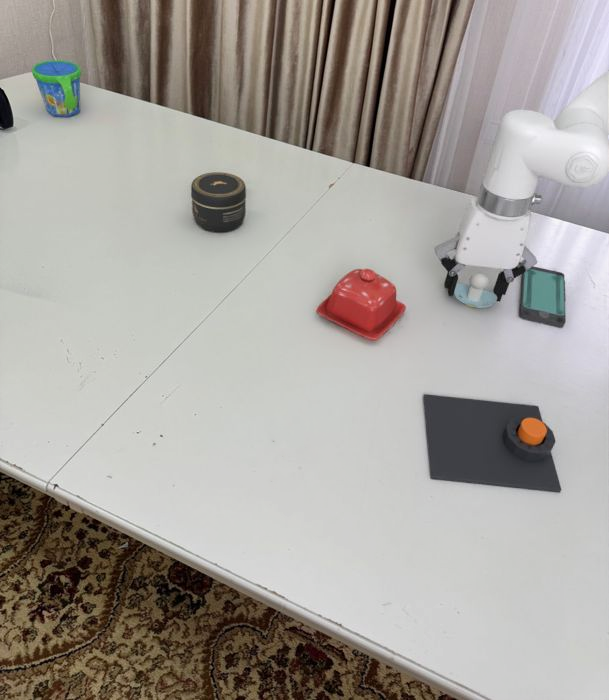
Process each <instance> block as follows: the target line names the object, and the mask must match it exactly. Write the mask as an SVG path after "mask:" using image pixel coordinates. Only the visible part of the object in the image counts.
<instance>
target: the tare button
mask: <svg viewBox="0 0 609 700" xmlns="http://www.w3.org/2000/svg"><path fill="white" fill-rule="evenodd" d="M544 423H545V422H544ZM544 423H542V422H541V421H540V420H538V419H535V418H526V419H524V420H523V421H522V423H521V425H520V427H519V429H518V436H519V438H520V439H521V440H522V441H523V442H525V443H527V444H529V445H538V444H540V443H541V442H542V441H543V439H544V437H545V435H546V433H547V428H546V426H545V425H544Z"/></svg>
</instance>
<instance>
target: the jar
mask: <svg viewBox="0 0 609 700" xmlns="http://www.w3.org/2000/svg"><path fill="white" fill-rule="evenodd" d="M190 197H191V205H192V206H191V207H192V209H191V210H192V216H193V218H194V221H195V223H196V225H197V226H199V227H200V228H201V229H202V230H205V231H207V232H210V233H217V234H219V233H223V234H224V233H230V232H232V231H235V230H237V229H238V228H240V227H241V225H242V224H243V223H244V220H245V217H246V199H247V187H246V183H245V181H244V180H243V179H242V178H241V177H239V176H237V175H235V174H232V173H230V172H220V171H219V172H218V171H217V172H216V171H215V172H206V173H202V174H200V175H198V176H197V177H195V178H194V179H193V180H192V182H191V186H190Z"/></svg>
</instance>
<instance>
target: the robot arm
mask: <svg viewBox="0 0 609 700" xmlns="http://www.w3.org/2000/svg"><path fill="white" fill-rule="evenodd" d="M608 174H609V69H608V70H607V71H605V72H604V73H603V74H601V75H600V76H599V77H597V78H595V80H594V81H592V82H591V83H590V84H589V85H588V86H586V87H585V89H583V90H582V91H581V92H580V93H579V94H578V95H577V96H576V97H574V99H573V100H572V101H570V102H569V103H568V104H567V105H566V106H565V107H564V108H563V109H562V110H561V111H560V112H559V113H558V114H557V116H556V117H555V118H554V120H553V119H552V118H550V117H549V116H547V115H546V114H544V113H541V112H539V111H535V110H530V109H514V110H511V111H508V112H507V113H505V114H504V115H503V116H502V119H501V120H500V122H499V125H498V128H497V130H496V133H495V138H494V141H493V144H492V147H491V150H490V154H489V158H488V161H487V165H486V167H485V171H484V175H483V178H482V181H481V185H480V188H479V191H478V194H477V196H474V197H471V199H470V201H469V203H468V205H467V206H466V208H465V211H464V212H463V214H462V217H461V220H460V222H459V225H458V227H457V230H456V232H455V236H453V237H451V238H449V239H447V240H444V241H443V242H440V243H439V244H437V245H435V246H434V253H435V255H436V257H437V258H438V260H439V261H440V263H441V266H442V267H443V268H444V269H445V270H446V272H447V273H446V276H445V280H444V284H443V287H444V289H446V290H447V296H448V297H450V298H451V297H453V296H454V291H455V288H456V284H458V281H459V274H458V273H459V272H460V271H461V270H463V268H464V267H465V266H471V267H480V268H489V269H496V270H497V269H498V270H502V271H500V272H499V273H498V275H497V278H496V280H495V283H494V286H493V290H492V293H494V294H496V296H497V301H496V302H498V303H500V302H501V300H502V298H503V296H506V294H507V291H508V288H509V285H510V283H513V282H514V280H515V279H516V278H518V277H520V276H522V274H523V273H525V271H526V270H527V269H530V268H531V267H533V266H534V267H535V266H536V265H537V264H538V260H537V257H536V255H535V254H534V253H533V252H532V251H531V250H530V249H529V248H528V247H527V246H526V243H527V239H528V235H529V230H530V224H531V218H532V217H531V216H532V211H531V207H532V205H540V204H541V202H542V198H543V196H542V194H537V193H536V189H537V186H538V184H539V181H540V178H544V179H546V180H548V181H552V182H554V183H556V184H558V185H562V186H565V187H568V188H573V189H586V188H590V187H593V186H596V185H597V184H599V183H601V182H602V181H603V180H604V179H605V178H606V177H607V175H608ZM452 250H455V254H454V256H452V258H450V256H449V255H448V254H447V253H448V252H450V251H452ZM522 258H523V260H521V259H522Z"/></svg>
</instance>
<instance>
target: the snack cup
mask: <svg viewBox="0 0 609 700" xmlns="http://www.w3.org/2000/svg"><path fill="white" fill-rule="evenodd" d="M81 70H82V69H81V67H80V65H78V64H77V63H75V62H73V61H67V60H60V59H59V60H58V59H57V60H46V61H41V62H38V63H36V64H34V65H33V66H32V68H31V72H32V73H31V74H32V76H33V78H34V79H35V81H36V84H37V87H38V89H39V93H40V96H41V98H42V101H43V104H44V106H45V109H46V111H47V113H49V114H51V115H52V116H53V117H59V118H60V117H61V118H67V117H73V116H75V115H77V114H78V113H80V111H81V84H80V83H81V76H82V71H81Z"/></svg>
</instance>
